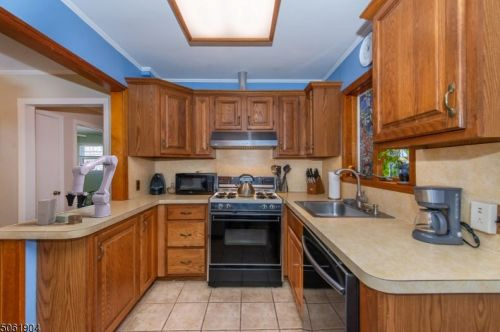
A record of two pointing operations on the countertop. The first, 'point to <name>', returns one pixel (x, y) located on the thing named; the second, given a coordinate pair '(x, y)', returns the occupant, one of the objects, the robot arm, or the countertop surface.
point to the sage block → (63, 217)
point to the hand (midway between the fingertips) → (74, 206)
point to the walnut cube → (74, 219)
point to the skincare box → (46, 211)
